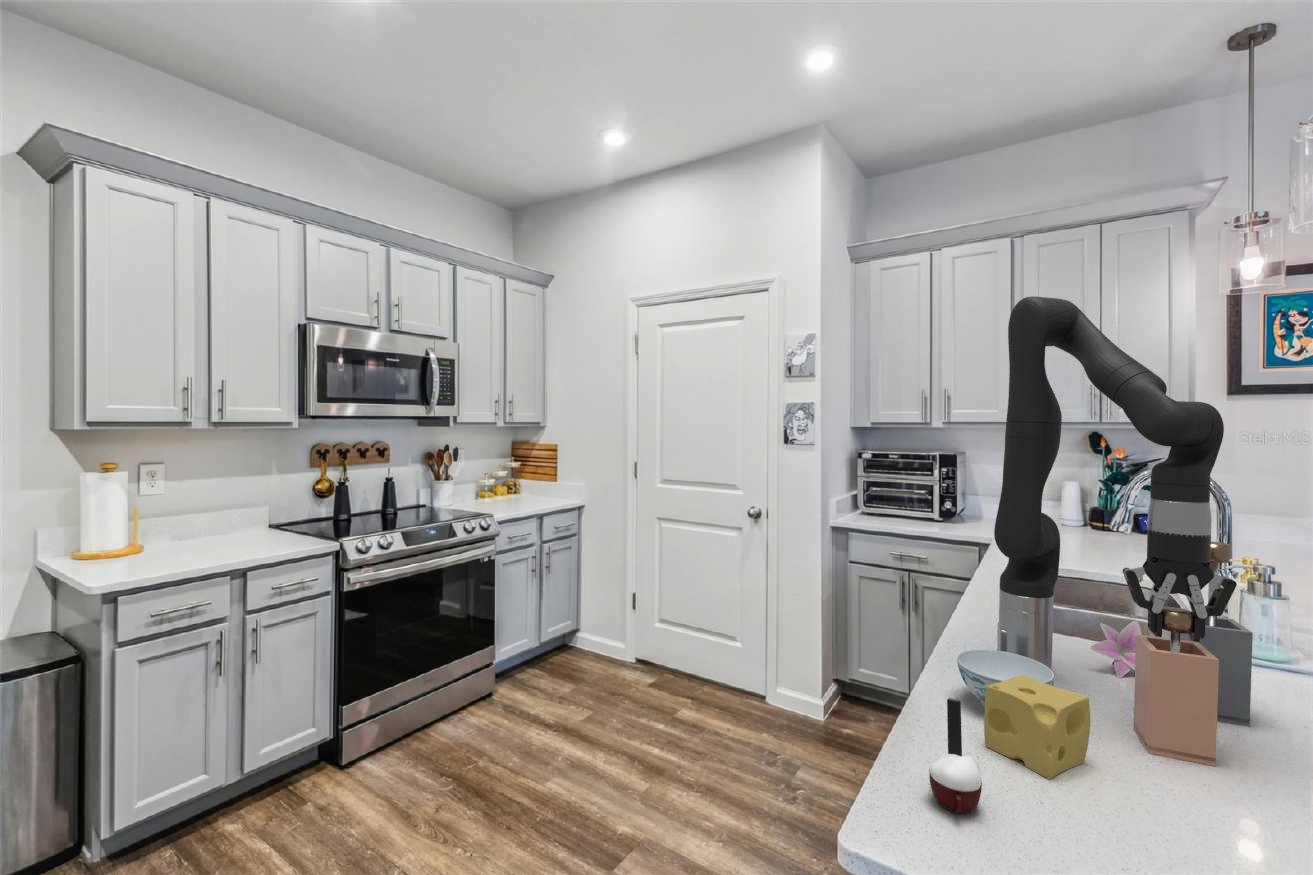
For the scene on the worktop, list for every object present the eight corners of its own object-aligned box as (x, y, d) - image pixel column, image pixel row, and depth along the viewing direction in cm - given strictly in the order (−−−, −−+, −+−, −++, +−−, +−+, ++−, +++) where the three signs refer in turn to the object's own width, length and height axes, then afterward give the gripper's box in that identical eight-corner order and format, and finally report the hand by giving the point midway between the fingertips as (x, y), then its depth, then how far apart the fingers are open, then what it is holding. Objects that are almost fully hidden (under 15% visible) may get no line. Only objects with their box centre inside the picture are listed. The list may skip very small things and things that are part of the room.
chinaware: (937, 697, 111) (938, 656, 111) (993, 684, 117) (994, 644, 117) (1013, 736, 97) (1014, 689, 97) (1072, 719, 103) (1074, 675, 103)
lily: (1078, 673, 125) (1096, 642, 120) (1084, 637, 133) (1101, 607, 128) (1147, 705, 119) (1170, 673, 114) (1150, 665, 127) (1171, 634, 122)
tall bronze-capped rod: (1198, 637, 105) (1201, 544, 104) (1187, 628, 109) (1190, 539, 109) (1237, 642, 102) (1240, 547, 102) (1224, 632, 107) (1227, 542, 107)
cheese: (1050, 781, 85) (1052, 712, 85) (979, 745, 95) (980, 682, 94) (1090, 763, 90) (1092, 697, 90) (1019, 730, 100) (1020, 670, 99)
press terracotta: (1148, 753, 93) (1150, 650, 92) (1133, 729, 100) (1136, 634, 99) (1215, 766, 89) (1218, 660, 89) (1195, 740, 96) (1198, 642, 96)
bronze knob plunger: (1157, 716, 93) (1160, 612, 93) (1147, 702, 98) (1150, 603, 97) (1200, 724, 91) (1204, 617, 90) (1188, 709, 96) (1191, 608, 95)
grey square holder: (1188, 716, 104) (1191, 625, 104) (1172, 697, 112) (1175, 612, 111) (1249, 726, 101) (1252, 632, 101) (1229, 706, 108) (1232, 618, 108)
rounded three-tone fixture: (969, 833, 75) (973, 741, 74) (917, 808, 79) (921, 721, 78) (991, 796, 82) (995, 711, 81) (943, 775, 86) (946, 695, 85)
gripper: (1128, 529, 93) (1126, 638, 94) (1250, 537, 87) (1246, 653, 88) (1116, 522, 100) (1113, 623, 100) (1227, 529, 94) (1224, 637, 94)
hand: (1175, 637), depth 94 cm, fingers closed on bronze knob plunger, 4 cm apart
